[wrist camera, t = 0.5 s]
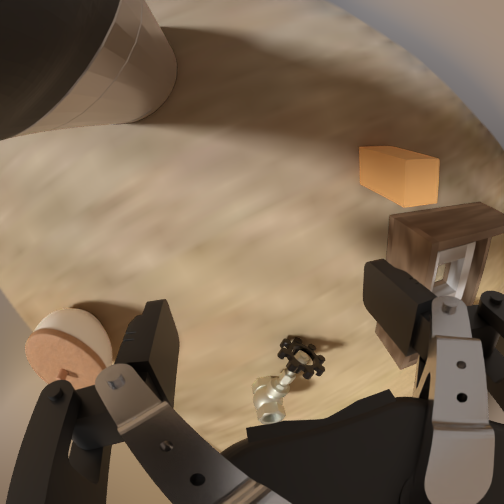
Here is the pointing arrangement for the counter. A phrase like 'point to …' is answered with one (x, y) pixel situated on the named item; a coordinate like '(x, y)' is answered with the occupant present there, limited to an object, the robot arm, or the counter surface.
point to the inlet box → (441, 253)
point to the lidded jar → (69, 348)
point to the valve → (284, 380)
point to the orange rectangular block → (400, 174)
